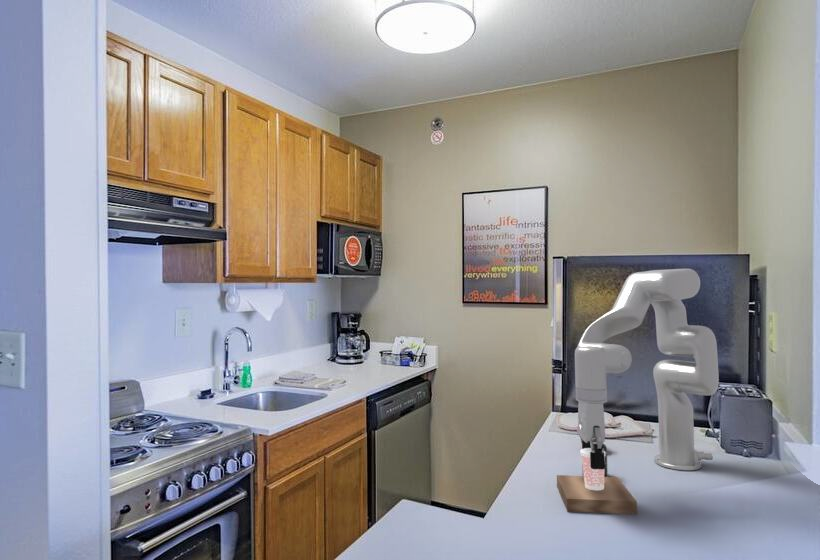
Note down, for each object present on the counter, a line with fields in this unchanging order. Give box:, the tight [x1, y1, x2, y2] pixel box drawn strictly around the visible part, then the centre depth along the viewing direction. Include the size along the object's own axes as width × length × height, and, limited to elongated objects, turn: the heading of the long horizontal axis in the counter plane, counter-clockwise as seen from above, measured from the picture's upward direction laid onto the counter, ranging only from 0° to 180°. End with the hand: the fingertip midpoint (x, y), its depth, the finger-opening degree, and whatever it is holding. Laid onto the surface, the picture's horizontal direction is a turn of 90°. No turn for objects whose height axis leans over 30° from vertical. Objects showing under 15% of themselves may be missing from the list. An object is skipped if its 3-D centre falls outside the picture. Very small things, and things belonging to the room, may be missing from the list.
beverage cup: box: [579, 439, 606, 490], centre depth 126 cm, size 6×6×14 cm
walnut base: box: [556, 474, 638, 515], centre depth 126 cm, size 16×16×3 cm
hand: (593, 462), depth 126 cm, fingers open, 9 cm apart
